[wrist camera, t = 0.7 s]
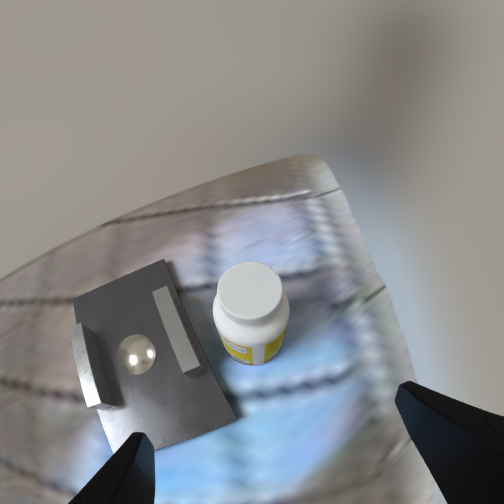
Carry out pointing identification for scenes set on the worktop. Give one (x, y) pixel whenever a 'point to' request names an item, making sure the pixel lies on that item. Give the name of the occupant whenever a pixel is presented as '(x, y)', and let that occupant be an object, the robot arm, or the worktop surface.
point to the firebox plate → (145, 361)
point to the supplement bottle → (251, 312)
